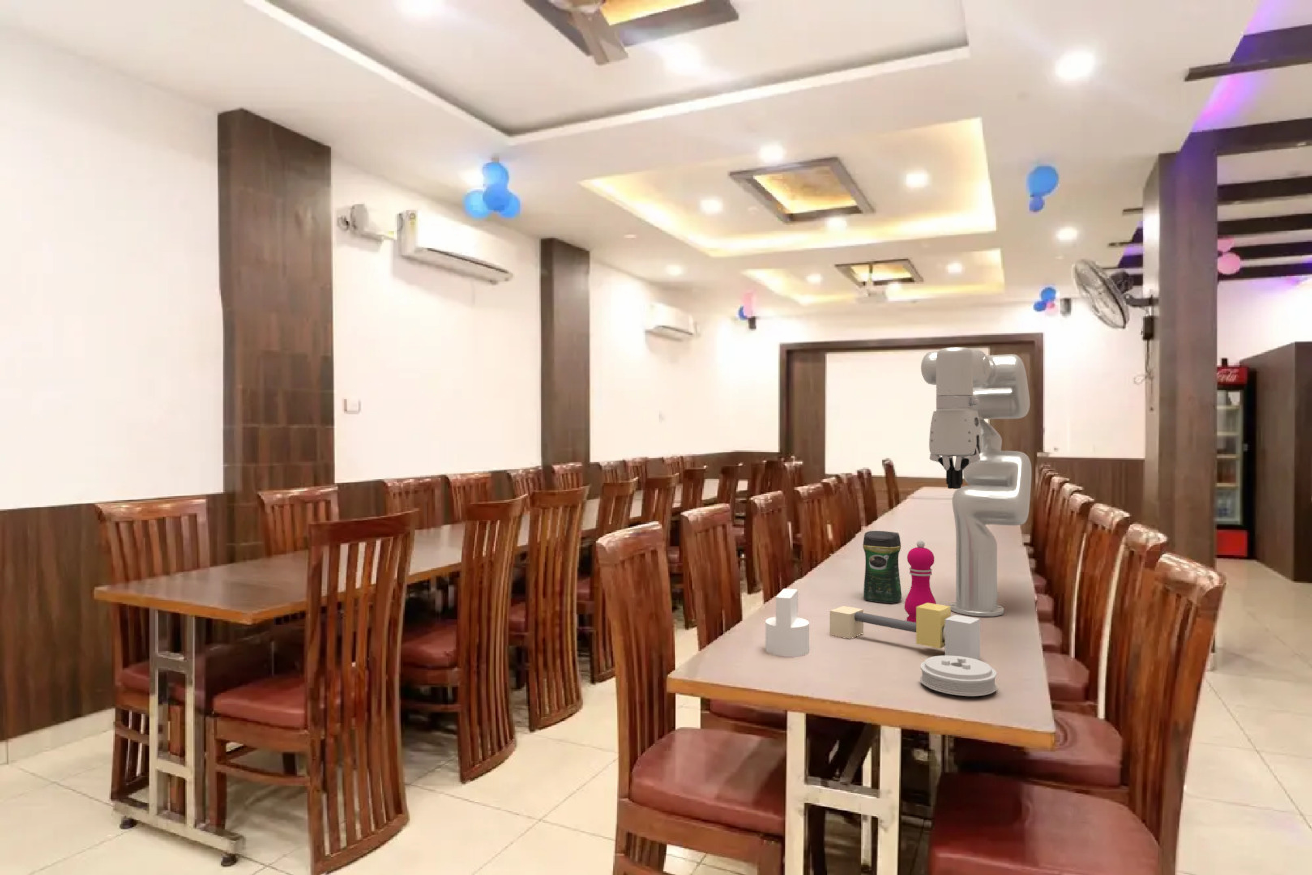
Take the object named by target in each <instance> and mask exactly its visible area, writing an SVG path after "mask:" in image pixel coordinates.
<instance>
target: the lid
mask: <svg viewBox="0 0 1312 875" xmlns="http://www.w3.org/2000/svg"><path fill="white" fill-rule="evenodd" d="M919 668H920V670H921V676H920V682H921V685H924V686H925V687H927V688H928V689H931V690H934V691H936V692H940V693H942V694H948V695H953V696H954V695H955V696H962V697H963V696H965V697H979V696H987V695H990V694H992V693H993V694H994V692H996V691H997V688H998V687H997V684H996V682H995V679H996V677H997V676H998V674H997V671H996V670H995V669H994V668H992V666H991V665H990V664H988V663H987V662H985V661H982V660H980V659H978V660H976V659H973V658H968V657H961V656H945V655H935V656H930V657H928V658H926V659H925V660H924V661H922V662H921V663H920V667H919Z"/></svg>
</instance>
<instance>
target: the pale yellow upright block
mask: <svg viewBox="0 0 1312 875" xmlns="http://www.w3.org/2000/svg"><path fill="white" fill-rule="evenodd" d="M951 613H952V610H951V606H950V605H944V604H938V603H936V604H932V603H925V604H923V605H920V606H918V607H916V632H915V635H916V636H915V637H916V638H915V639H916V640H915V644H917V645H920V646H925V647H930V648H936V649H939V650H940V649H942V648H945V641H944V640H943V638H942V628H944V627H945V619H947V618H949V617H951V615H952V614H951Z"/></svg>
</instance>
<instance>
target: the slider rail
mask: <svg viewBox="0 0 1312 875" xmlns="http://www.w3.org/2000/svg"><path fill="white" fill-rule="evenodd" d="M864 623H865V624H871V625H875V626H881V627H885V628H889V629H890V628H891V629H897V630H902V631H905V632H906V631H907V632H911V633H916V623H915V622H909V621H907V620H903V619H898V618H893V617H887V616H882V615H876V614H870V613H865V612H864V609H862V608H859V607H858V608H857V607H852V606H845V605H842V606H839V607H837V608H833V609H830V610H829V635H830V634H831V635H830V636H832V635H835V636H834V637H837V636H839V637H838V638H841V637H845V638H844V639H846V638H849V639H848V640H851V639H850V638H852V637H854V638H857V637H858V636H857V635H859V634H861V633H863V634H864ZM856 636H857V637H856ZM859 636H860V635H859ZM942 638H943V640H944V641H945V646H944V656H961V657H968V658H973V659H976V660H980V659H981V619H980V618H979V617H978V618H977V617H971V616H967V615H965V616H964V615H959V614H954V615H952V616H951V617H949V618H947V619H945V627H944V628H942ZM852 639H853V638H852Z"/></svg>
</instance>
